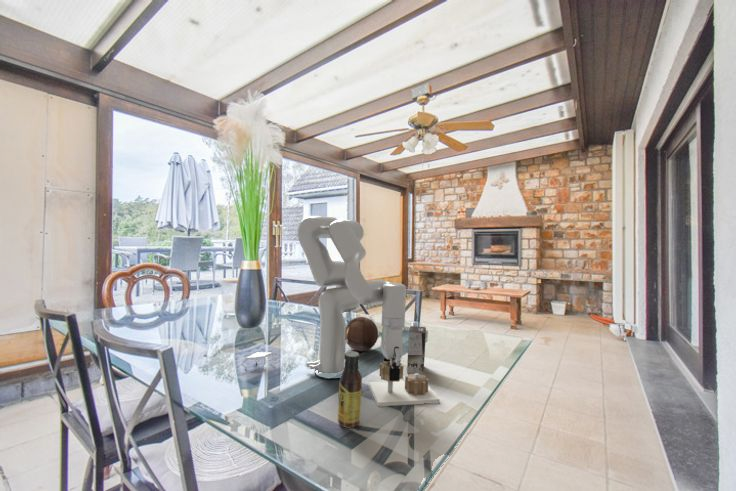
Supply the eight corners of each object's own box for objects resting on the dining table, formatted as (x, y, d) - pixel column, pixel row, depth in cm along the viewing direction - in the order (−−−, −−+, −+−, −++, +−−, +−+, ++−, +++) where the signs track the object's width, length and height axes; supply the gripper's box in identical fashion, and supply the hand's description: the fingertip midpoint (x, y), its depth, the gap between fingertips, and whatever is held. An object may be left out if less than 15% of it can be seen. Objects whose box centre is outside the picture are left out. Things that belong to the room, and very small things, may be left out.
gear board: (377, 406, 105) (378, 385, 105) (369, 385, 119) (369, 366, 118) (439, 402, 109) (440, 382, 108) (423, 383, 122) (424, 364, 122)
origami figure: (262, 360, 138) (262, 348, 138) (276, 365, 133) (276, 353, 133) (236, 369, 128) (236, 356, 128) (250, 375, 123) (250, 361, 123)
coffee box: (423, 375, 129) (425, 333, 129) (406, 373, 131) (408, 331, 130) (424, 366, 138) (426, 326, 138) (408, 364, 140) (410, 325, 139)
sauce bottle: (337, 416, 98) (340, 348, 97) (359, 416, 99) (362, 348, 98) (337, 430, 92) (340, 357, 91) (360, 430, 92) (363, 357, 91)
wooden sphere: (376, 345, 161) (377, 313, 161) (378, 356, 146) (380, 322, 146) (344, 344, 161) (345, 312, 160) (343, 356, 146) (344, 321, 145)
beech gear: (382, 383, 108) (383, 369, 108) (377, 373, 115) (378, 360, 115) (405, 382, 109) (405, 368, 109) (398, 372, 116) (399, 359, 116)
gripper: (376, 314, 119) (374, 364, 120) (388, 329, 102) (386, 387, 103) (397, 314, 121) (395, 364, 121) (412, 328, 104) (410, 386, 104)
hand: (391, 374), depth 112 cm, fingers closed on beech gear, 7 cm apart
